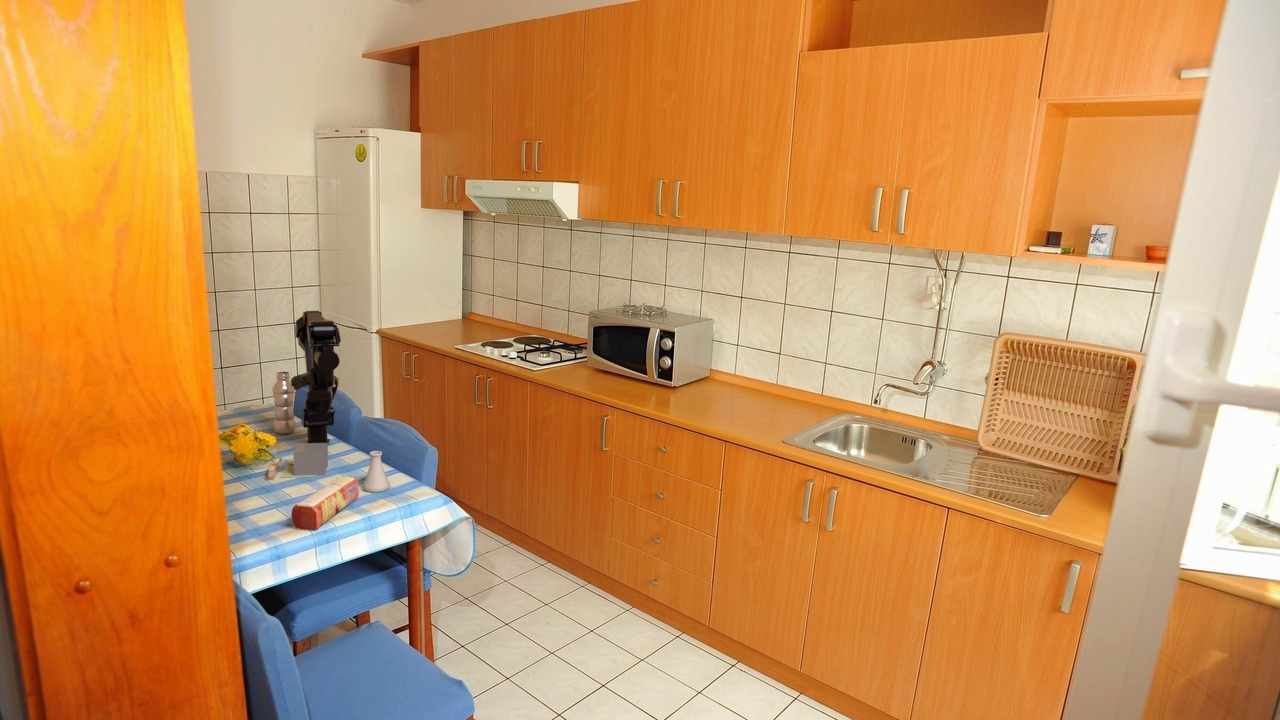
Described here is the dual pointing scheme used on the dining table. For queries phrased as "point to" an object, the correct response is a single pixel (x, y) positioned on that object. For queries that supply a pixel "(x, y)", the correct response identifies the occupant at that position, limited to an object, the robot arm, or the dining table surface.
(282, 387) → the plastic bottle
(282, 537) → the dining table surface
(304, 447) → the smooth grey cube
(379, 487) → the flask
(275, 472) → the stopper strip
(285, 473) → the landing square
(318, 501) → the snack package
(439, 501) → the dining table surface
